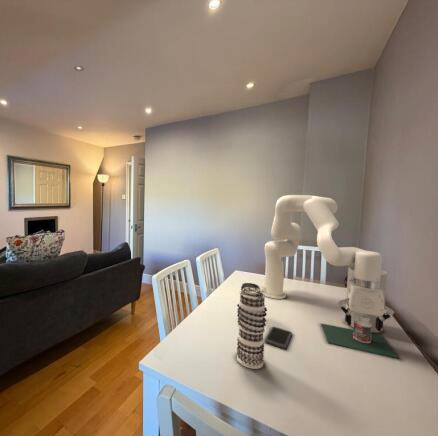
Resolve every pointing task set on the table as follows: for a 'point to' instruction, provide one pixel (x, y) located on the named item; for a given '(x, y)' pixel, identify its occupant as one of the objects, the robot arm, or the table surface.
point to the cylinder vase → (382, 285)
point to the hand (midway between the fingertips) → (362, 326)
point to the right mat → (346, 340)
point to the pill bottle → (362, 328)
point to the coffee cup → (249, 285)
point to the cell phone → (278, 337)
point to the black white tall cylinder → (251, 327)
